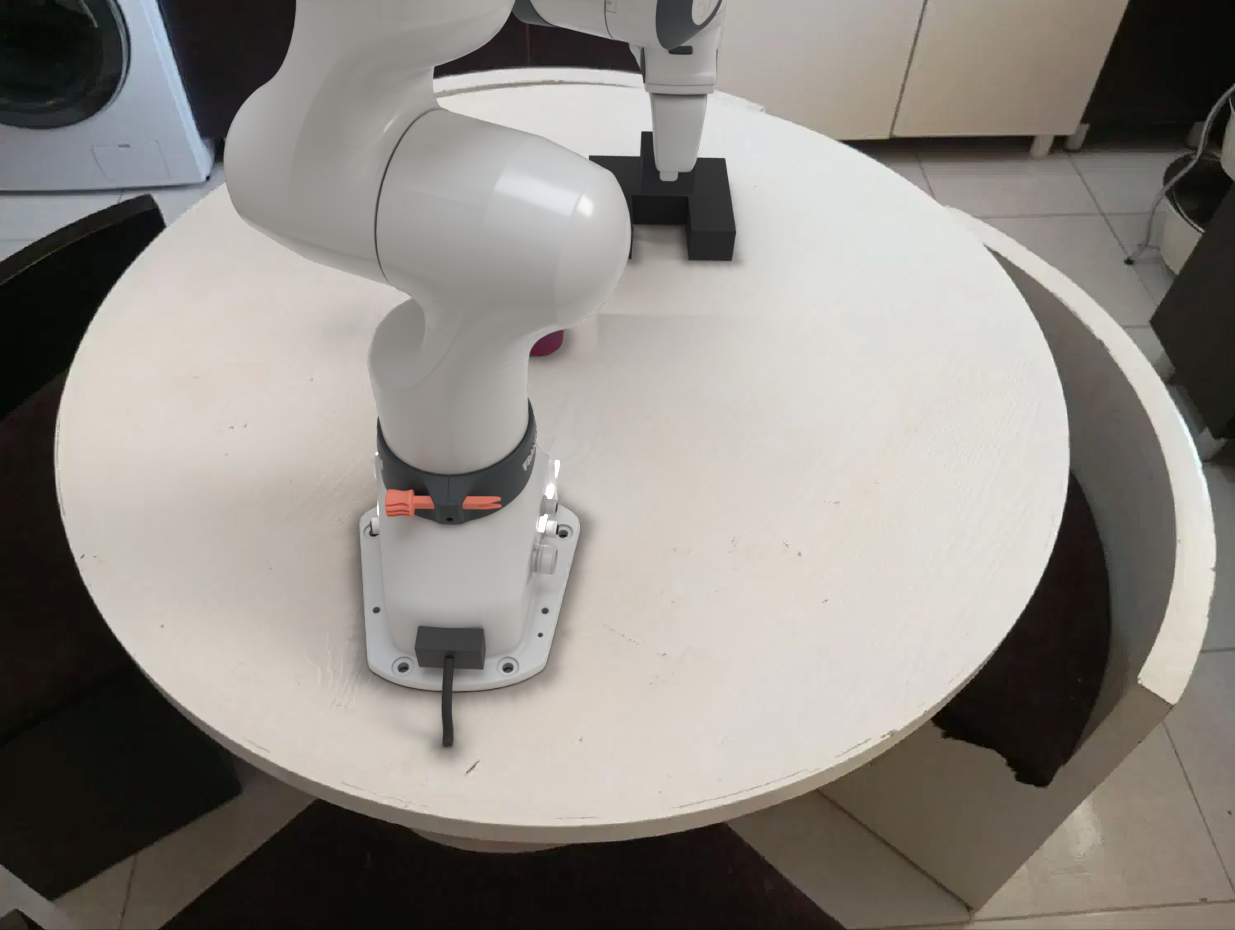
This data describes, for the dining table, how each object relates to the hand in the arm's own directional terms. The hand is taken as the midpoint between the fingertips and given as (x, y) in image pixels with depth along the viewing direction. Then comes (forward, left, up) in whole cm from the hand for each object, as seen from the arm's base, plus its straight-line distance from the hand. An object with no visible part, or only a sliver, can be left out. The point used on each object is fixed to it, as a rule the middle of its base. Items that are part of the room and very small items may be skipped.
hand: (666, 158), depth 104 cm
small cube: (0, 0, -3) cm, 3 cm away
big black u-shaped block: (+4, 0, -11) cm, 11 cm away
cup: (-16, +13, -11) cm, 24 cm away
